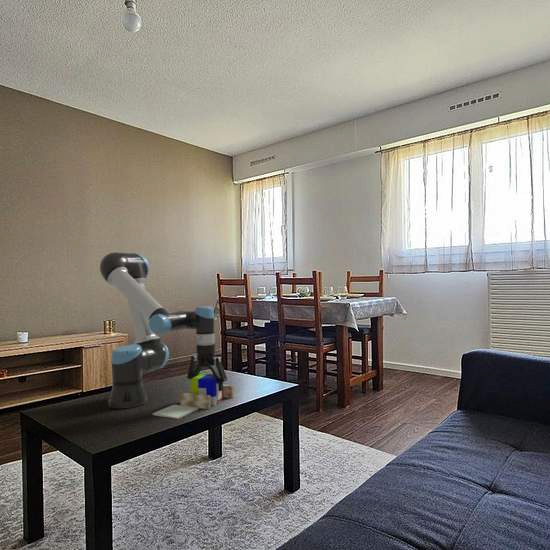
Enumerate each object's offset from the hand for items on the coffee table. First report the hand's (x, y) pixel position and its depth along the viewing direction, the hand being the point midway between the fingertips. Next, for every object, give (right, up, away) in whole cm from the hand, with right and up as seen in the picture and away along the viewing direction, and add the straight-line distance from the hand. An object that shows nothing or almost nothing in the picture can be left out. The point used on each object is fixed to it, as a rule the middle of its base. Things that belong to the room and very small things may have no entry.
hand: (207, 397), depth 170 cm
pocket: (0, -2, 0) cm, 2 cm away
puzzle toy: (0, -2, 0) cm, 2 cm away
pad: (-10, -2, -13) cm, 16 cm away
